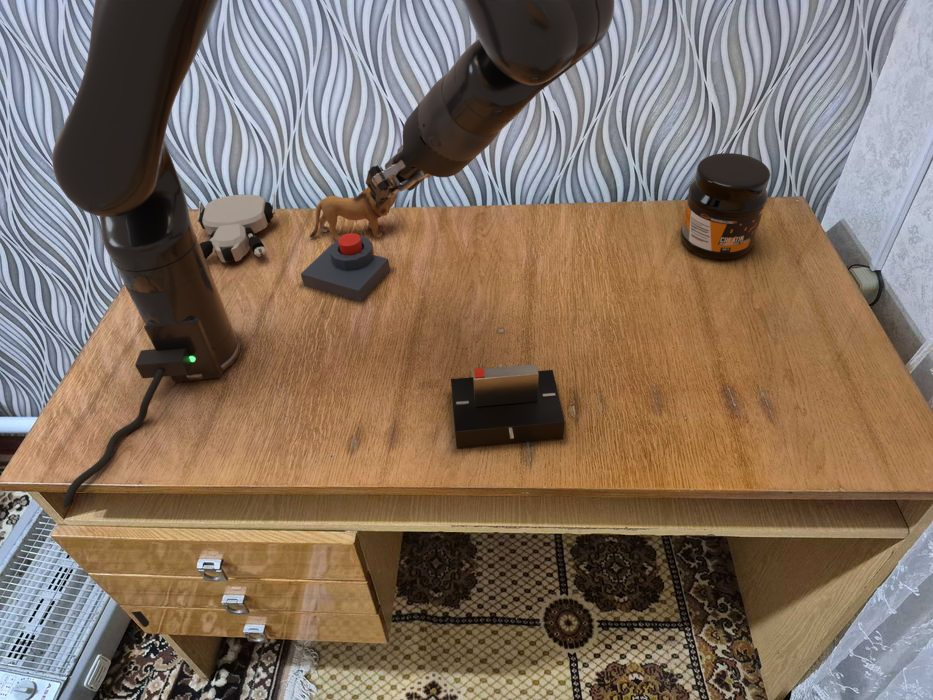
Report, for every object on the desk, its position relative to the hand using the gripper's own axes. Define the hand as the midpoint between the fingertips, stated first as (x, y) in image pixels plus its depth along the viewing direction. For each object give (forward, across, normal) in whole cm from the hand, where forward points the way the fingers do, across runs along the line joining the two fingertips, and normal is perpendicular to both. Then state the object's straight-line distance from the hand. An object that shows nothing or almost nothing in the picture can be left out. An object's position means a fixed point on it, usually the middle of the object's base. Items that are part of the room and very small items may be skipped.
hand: (391, 190), depth 79 cm
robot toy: (+36, +8, -10) cm, 38 cm away
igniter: (+21, +2, +5) cm, 21 cm away
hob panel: (-4, +5, +30) cm, 30 cm away
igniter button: (+19, 0, +2) cm, 19 cm away
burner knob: (-6, +5, +27) cm, 29 cm away
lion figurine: (+27, -7, -1) cm, 28 cm away
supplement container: (-3, -41, +29) cm, 50 cm away
